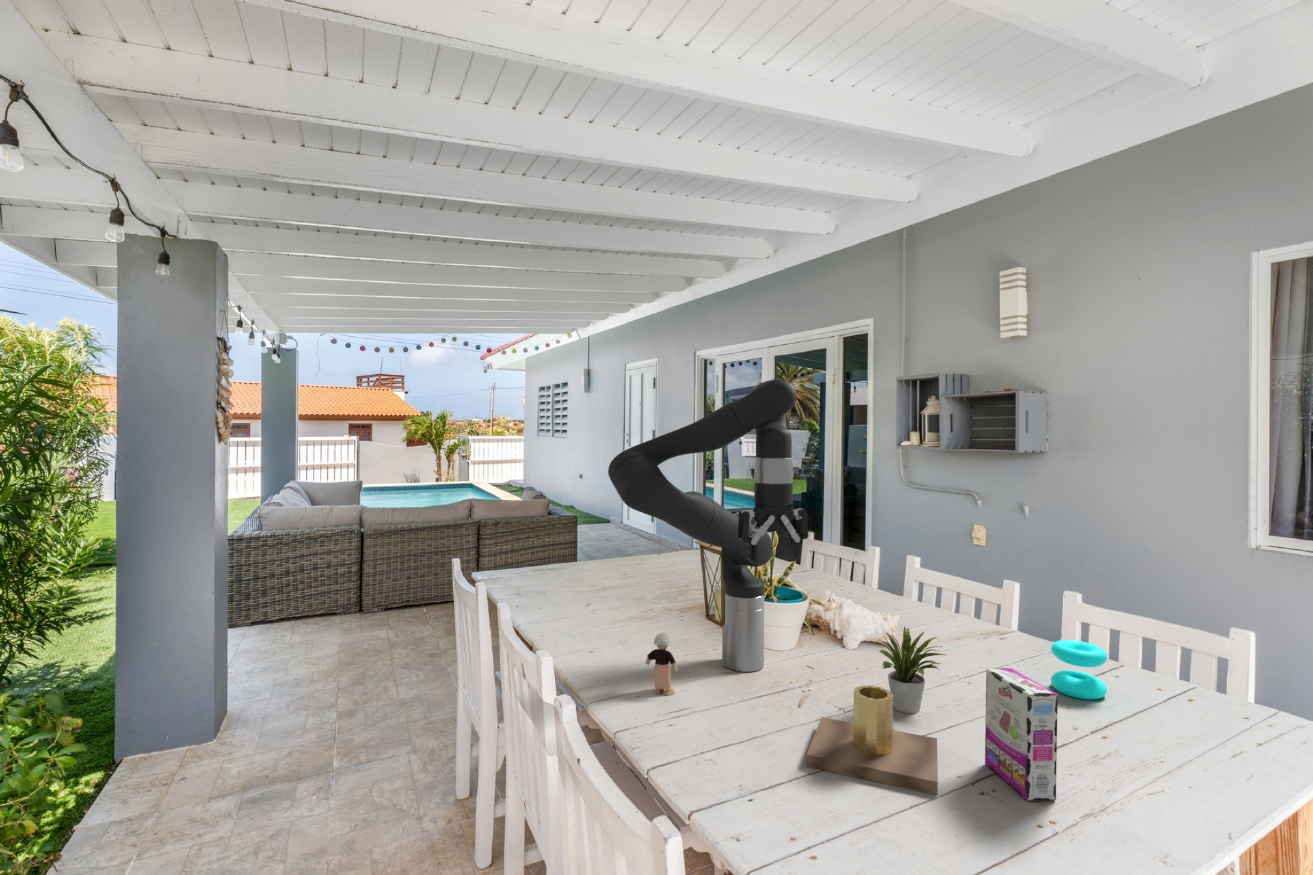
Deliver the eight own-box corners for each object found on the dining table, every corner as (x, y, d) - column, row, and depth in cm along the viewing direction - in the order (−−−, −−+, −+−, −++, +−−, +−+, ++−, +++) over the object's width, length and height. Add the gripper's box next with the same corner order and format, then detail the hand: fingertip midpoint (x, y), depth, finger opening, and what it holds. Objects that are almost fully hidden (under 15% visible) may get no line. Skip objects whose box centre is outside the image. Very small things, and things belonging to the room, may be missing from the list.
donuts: (1110, 645, 136) (1103, 657, 128) (1109, 691, 136) (1102, 706, 128) (1056, 634, 142) (1046, 645, 135) (1056, 678, 142) (1046, 692, 135)
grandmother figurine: (681, 690, 135) (681, 632, 135) (676, 697, 132) (676, 637, 131) (647, 685, 138) (648, 628, 138) (641, 692, 134) (642, 633, 134)
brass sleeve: (851, 750, 106) (852, 696, 106) (855, 734, 112) (856, 683, 112) (891, 758, 104) (891, 703, 104) (893, 741, 109) (893, 689, 109)
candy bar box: (1058, 801, 95) (1060, 694, 95) (1027, 802, 95) (1029, 695, 95) (1011, 762, 107) (1012, 666, 106) (983, 763, 106) (984, 667, 106)
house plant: (907, 732, 117) (907, 645, 117) (852, 703, 129) (852, 624, 129) (958, 716, 123) (958, 633, 123) (901, 690, 136) (901, 615, 136)
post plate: (806, 766, 105) (807, 711, 105) (821, 727, 119) (821, 679, 119) (937, 794, 97) (938, 735, 97) (937, 749, 111) (937, 697, 110)
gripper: (748, 482, 119) (747, 568, 119) (815, 481, 123) (814, 563, 123) (732, 479, 126) (732, 560, 126) (796, 478, 130) (795, 556, 130)
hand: (773, 561), depth 125 cm, fingers open, 8 cm apart
